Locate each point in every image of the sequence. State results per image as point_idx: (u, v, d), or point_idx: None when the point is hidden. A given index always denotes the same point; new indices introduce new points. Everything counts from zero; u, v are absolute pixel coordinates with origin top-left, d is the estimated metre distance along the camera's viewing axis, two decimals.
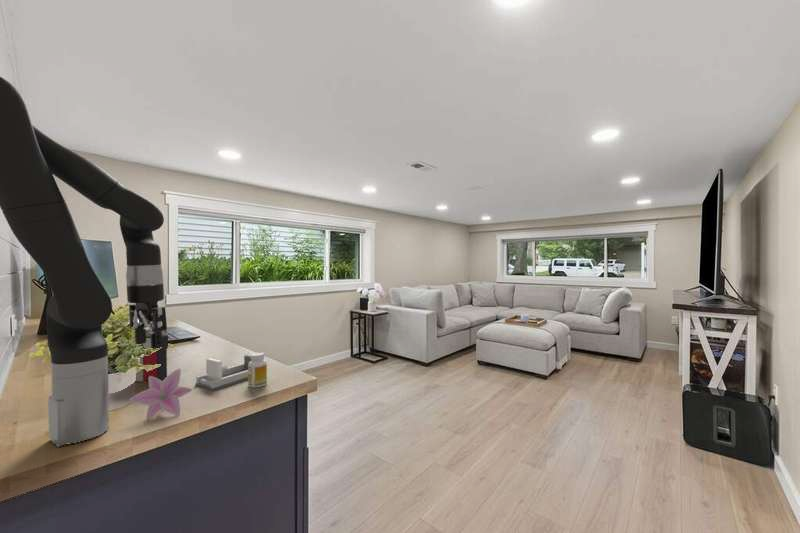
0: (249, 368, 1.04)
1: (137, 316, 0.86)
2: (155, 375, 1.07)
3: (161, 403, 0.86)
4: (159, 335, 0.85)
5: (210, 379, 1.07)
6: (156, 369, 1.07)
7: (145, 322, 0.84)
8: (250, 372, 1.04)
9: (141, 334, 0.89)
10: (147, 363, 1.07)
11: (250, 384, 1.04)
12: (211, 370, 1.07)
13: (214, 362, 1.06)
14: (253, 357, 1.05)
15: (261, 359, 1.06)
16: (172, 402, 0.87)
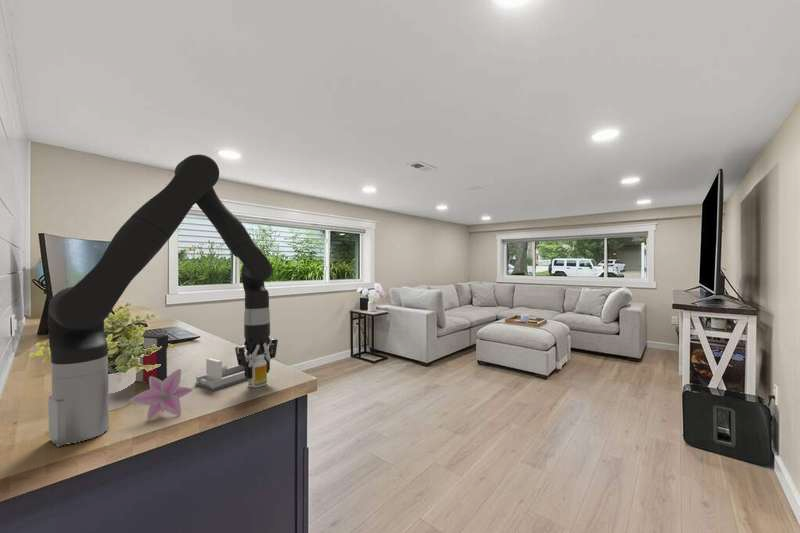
0: None
1: None
2: (155, 375, 1.07)
3: (162, 404, 0.86)
4: None
5: (210, 379, 1.07)
6: (156, 369, 1.07)
7: (267, 352, 1.08)
8: None
9: None
10: (147, 363, 1.07)
11: (250, 384, 1.04)
12: (211, 370, 1.07)
13: (214, 362, 1.06)
14: None
15: (261, 359, 1.06)
16: (172, 403, 0.87)
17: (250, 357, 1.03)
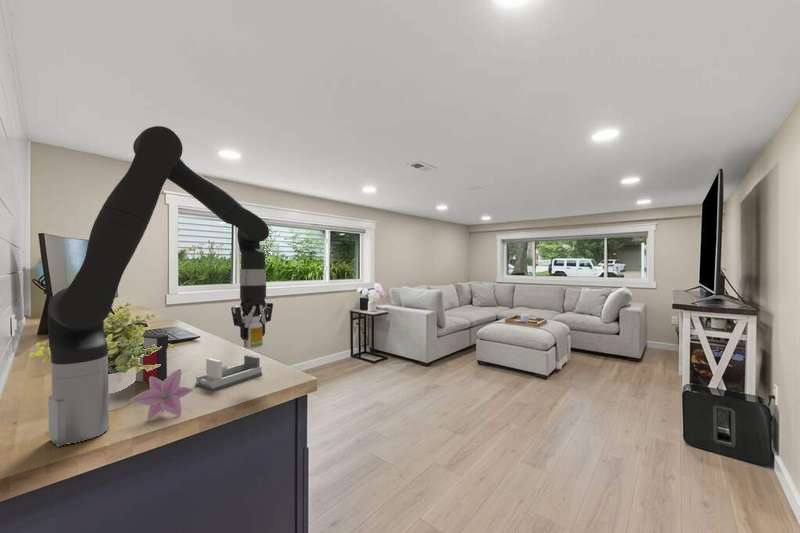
0: None
1: None
2: (155, 375, 1.07)
3: (162, 404, 0.86)
4: None
5: (210, 379, 1.07)
6: (156, 369, 1.07)
7: (263, 314, 1.07)
8: None
9: None
10: (147, 363, 1.07)
11: (246, 345, 1.04)
12: (211, 370, 1.07)
13: (214, 362, 1.06)
14: None
15: (257, 321, 1.05)
16: (173, 403, 0.87)
17: (246, 318, 1.03)
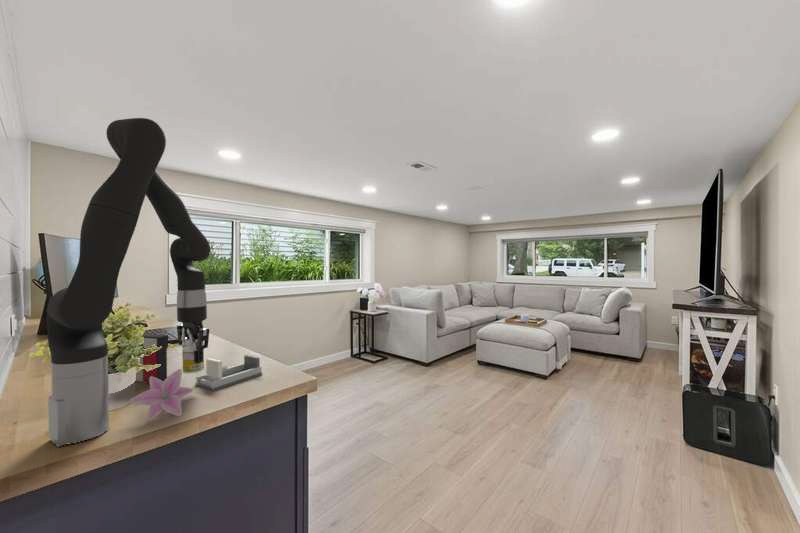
0: None
1: None
2: (155, 375, 1.07)
3: (163, 404, 0.86)
4: None
5: (210, 379, 1.07)
6: (156, 369, 1.07)
7: None
8: None
9: None
10: (147, 363, 1.07)
11: (198, 368, 1.00)
12: (211, 370, 1.07)
13: (214, 362, 1.06)
14: None
15: None
16: (173, 403, 0.86)
17: None
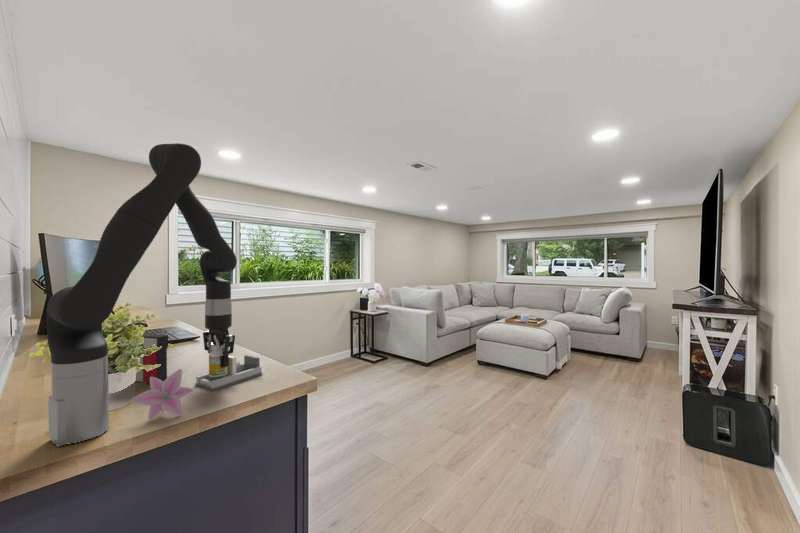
0: None
1: None
2: (155, 375, 1.07)
3: (163, 404, 0.86)
4: None
5: None
6: (156, 369, 1.07)
7: None
8: None
9: None
10: (147, 363, 1.07)
11: (224, 373, 1.07)
12: None
13: (228, 358, 1.10)
14: None
15: None
16: (174, 403, 0.86)
17: None
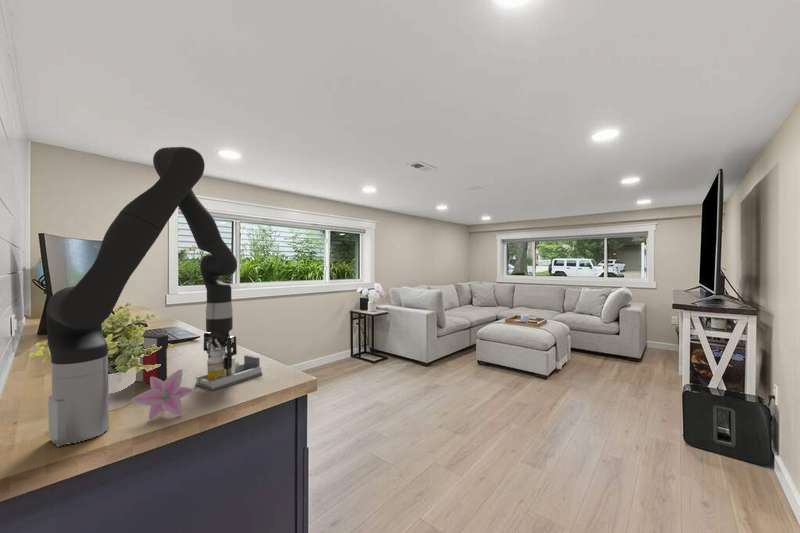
0: (221, 364, 1.06)
1: None
2: (155, 375, 1.07)
3: (163, 404, 0.86)
4: None
5: None
6: (156, 369, 1.07)
7: None
8: (222, 367, 1.06)
9: None
10: (147, 363, 1.07)
11: None
12: None
13: None
14: None
15: None
16: (174, 403, 0.86)
17: None
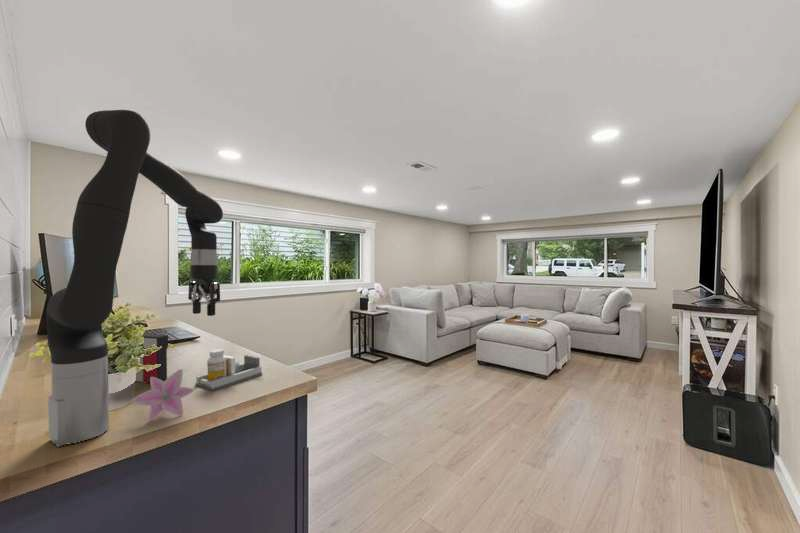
0: (221, 364, 1.06)
1: None
2: (155, 375, 1.07)
3: (164, 404, 0.86)
4: None
5: None
6: (156, 369, 1.07)
7: None
8: (222, 367, 1.06)
9: None
10: (147, 363, 1.07)
11: None
12: None
13: (227, 359, 1.09)
14: (222, 352, 1.07)
15: None
16: (174, 403, 0.86)
17: (213, 294, 1.07)
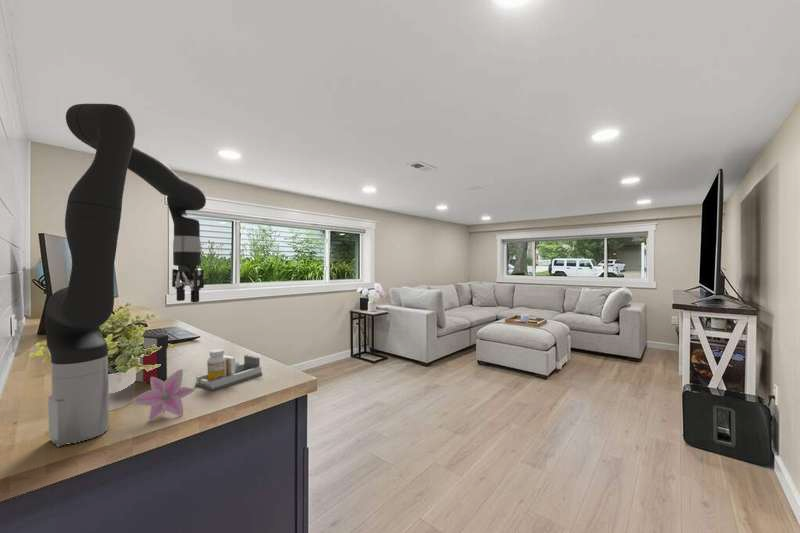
0: (221, 364, 1.06)
1: None
2: (155, 375, 1.07)
3: (164, 404, 0.86)
4: None
5: None
6: (156, 369, 1.07)
7: None
8: (222, 367, 1.06)
9: None
10: (147, 363, 1.07)
11: None
12: None
13: (227, 359, 1.09)
14: (222, 352, 1.07)
15: None
16: (174, 403, 0.86)
17: (197, 281, 1.07)
